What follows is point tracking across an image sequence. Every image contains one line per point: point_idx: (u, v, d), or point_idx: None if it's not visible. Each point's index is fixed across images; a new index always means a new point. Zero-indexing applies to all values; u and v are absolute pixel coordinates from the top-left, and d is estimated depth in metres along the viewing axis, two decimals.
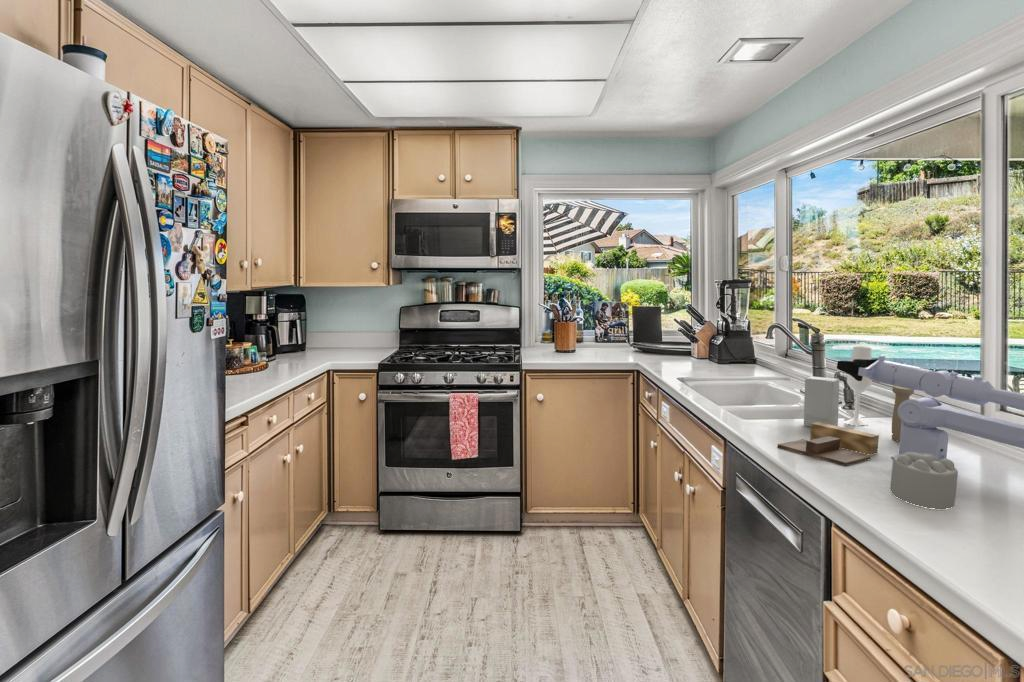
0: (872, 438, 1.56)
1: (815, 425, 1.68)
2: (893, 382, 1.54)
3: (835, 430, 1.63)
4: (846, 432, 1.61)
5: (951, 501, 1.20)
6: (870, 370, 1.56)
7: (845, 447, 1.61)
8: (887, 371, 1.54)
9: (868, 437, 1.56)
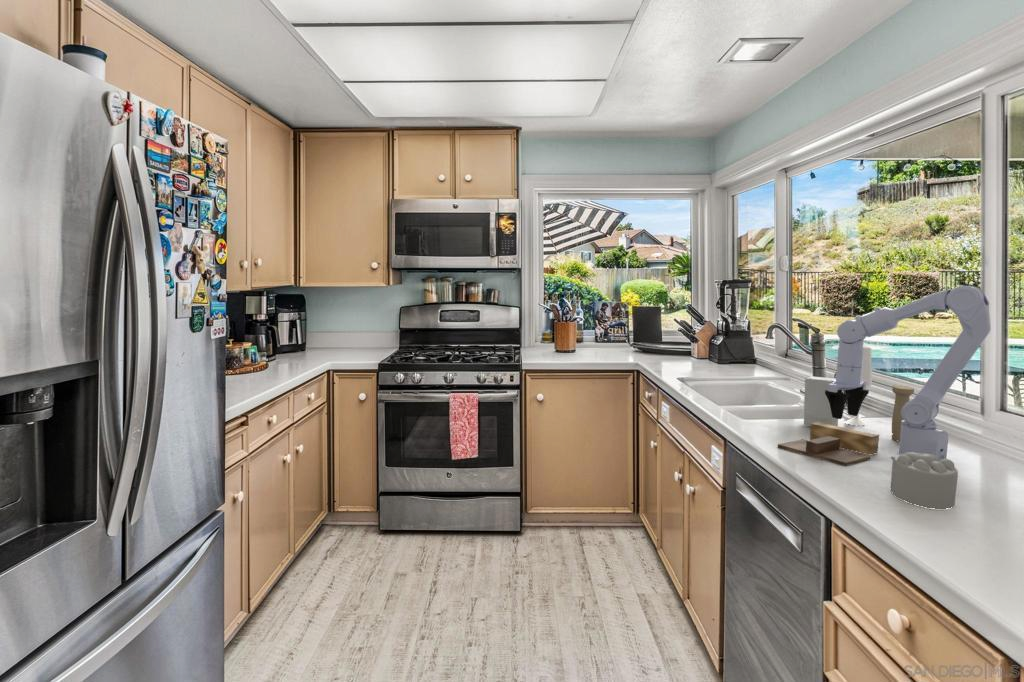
0: (872, 438, 1.56)
1: (815, 425, 1.68)
2: (851, 367, 1.58)
3: (835, 430, 1.63)
4: (846, 432, 1.61)
5: (951, 501, 1.20)
6: (835, 384, 1.59)
7: (845, 447, 1.61)
8: (840, 371, 1.60)
9: (868, 437, 1.56)
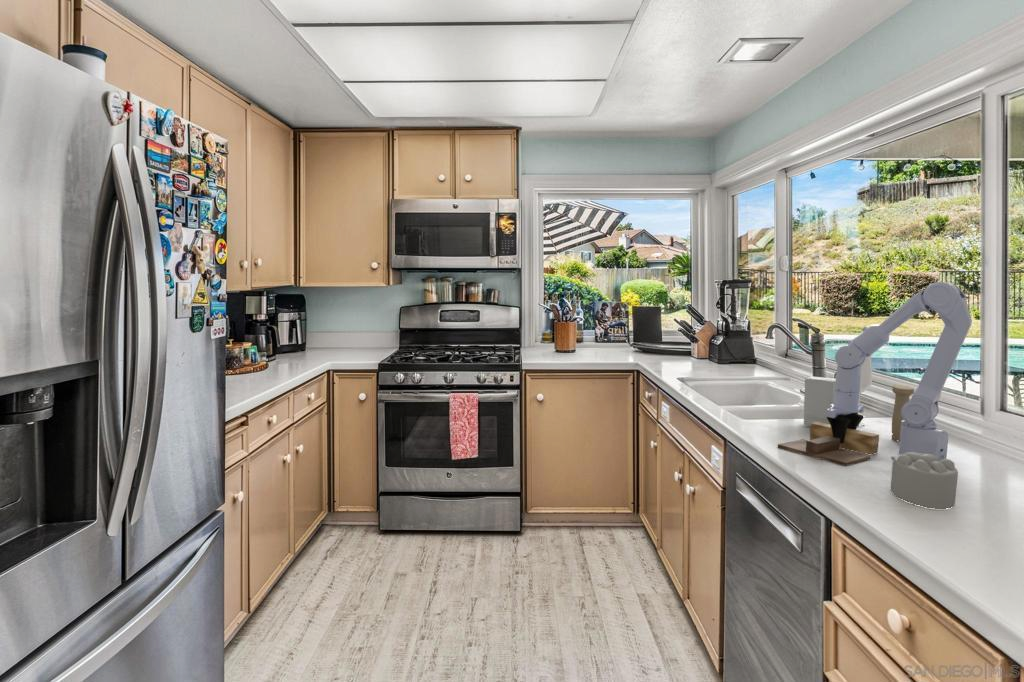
0: (873, 437, 1.56)
1: (815, 425, 1.67)
2: (849, 392, 1.59)
3: None
4: (846, 432, 1.61)
5: (951, 501, 1.20)
6: None
7: (845, 447, 1.61)
8: (838, 396, 1.61)
9: (869, 436, 1.56)
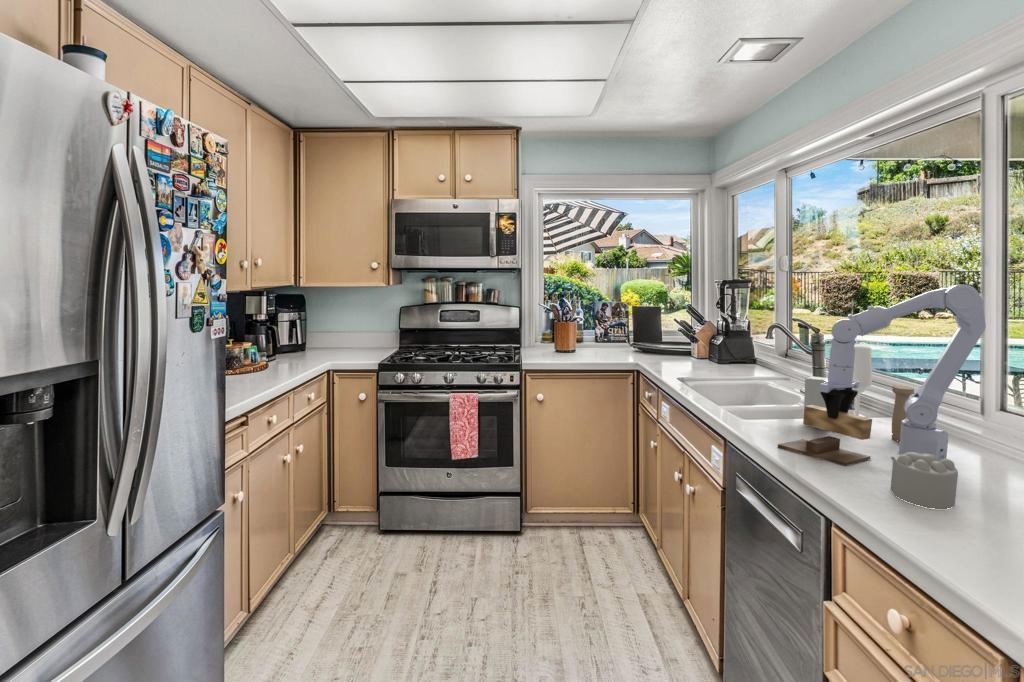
0: (865, 421, 1.52)
1: (808, 408, 1.65)
2: (843, 367, 1.56)
3: None
4: (839, 415, 1.58)
5: (951, 501, 1.20)
6: (827, 384, 1.57)
7: (838, 430, 1.58)
8: (831, 371, 1.58)
9: (861, 420, 1.53)
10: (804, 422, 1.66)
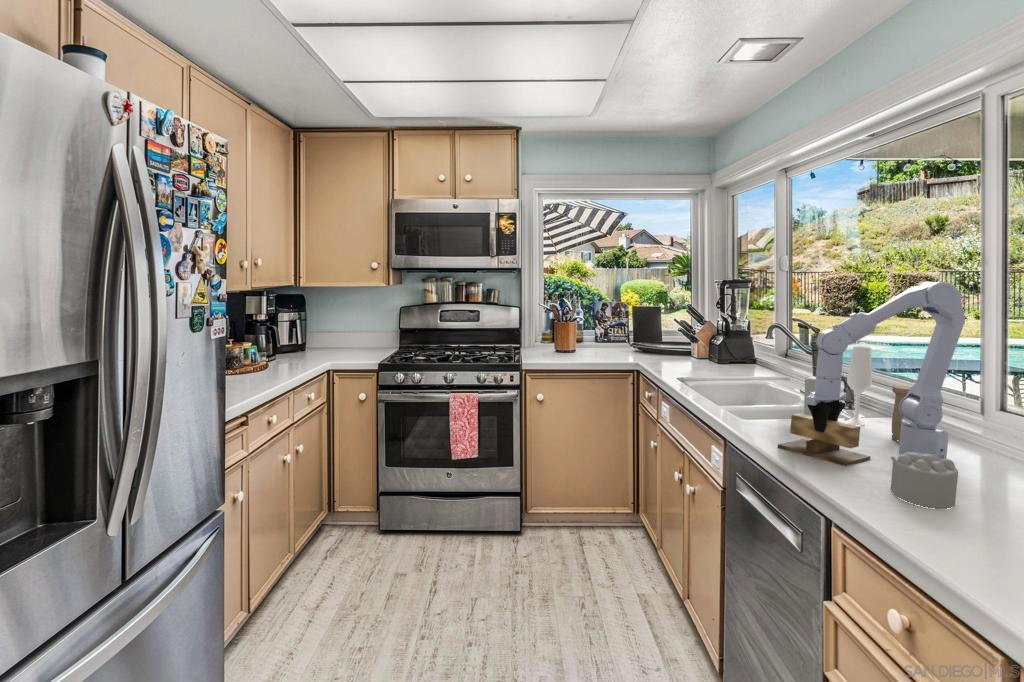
0: (853, 429, 1.49)
1: (795, 416, 1.61)
2: (830, 379, 1.52)
3: None
4: (826, 423, 1.54)
5: (952, 501, 1.20)
6: (814, 396, 1.53)
7: (825, 439, 1.54)
8: (818, 383, 1.54)
9: (849, 428, 1.49)
10: (791, 431, 1.62)
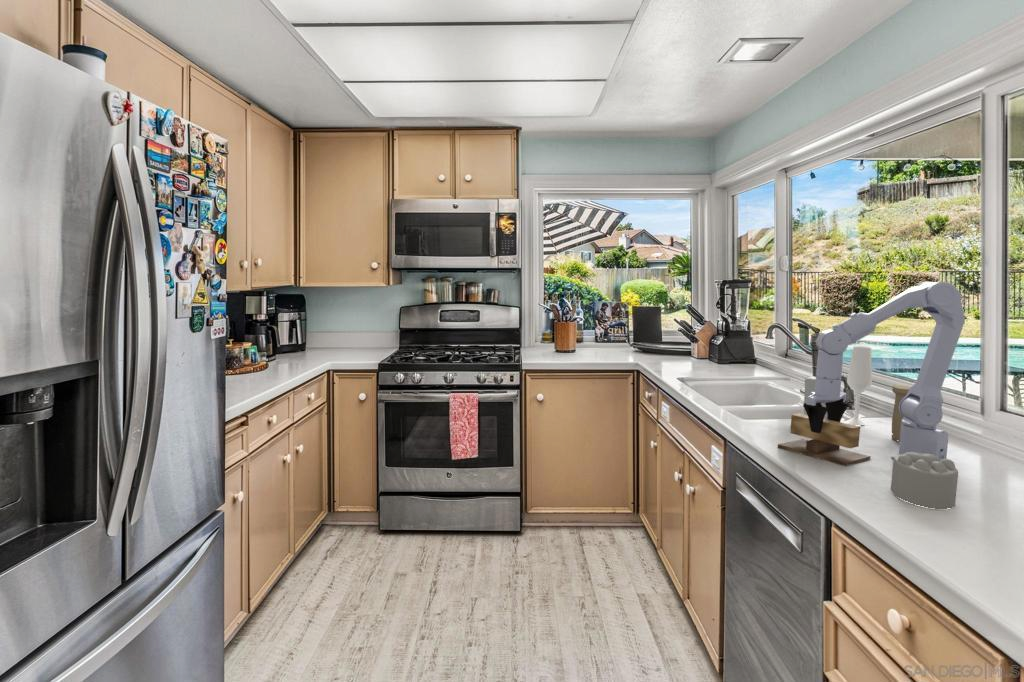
0: (853, 429, 1.49)
1: (795, 416, 1.61)
2: (830, 379, 1.52)
3: None
4: (826, 423, 1.54)
5: (952, 501, 1.20)
6: (814, 397, 1.53)
7: (825, 439, 1.54)
8: (818, 383, 1.54)
9: (849, 428, 1.49)
10: (791, 431, 1.62)
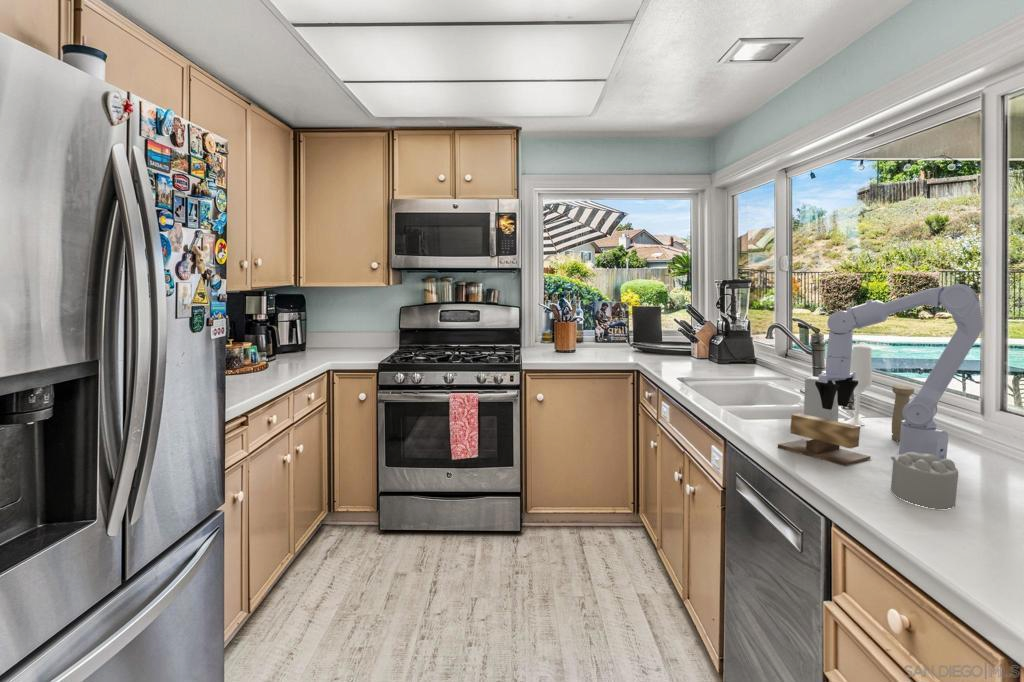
0: (853, 429, 1.49)
1: (795, 416, 1.61)
2: (841, 358, 1.59)
3: (815, 421, 1.56)
4: (826, 423, 1.54)
5: (952, 501, 1.20)
6: (825, 375, 1.60)
7: (825, 439, 1.54)
8: (830, 362, 1.61)
9: (849, 428, 1.49)
10: (791, 431, 1.62)
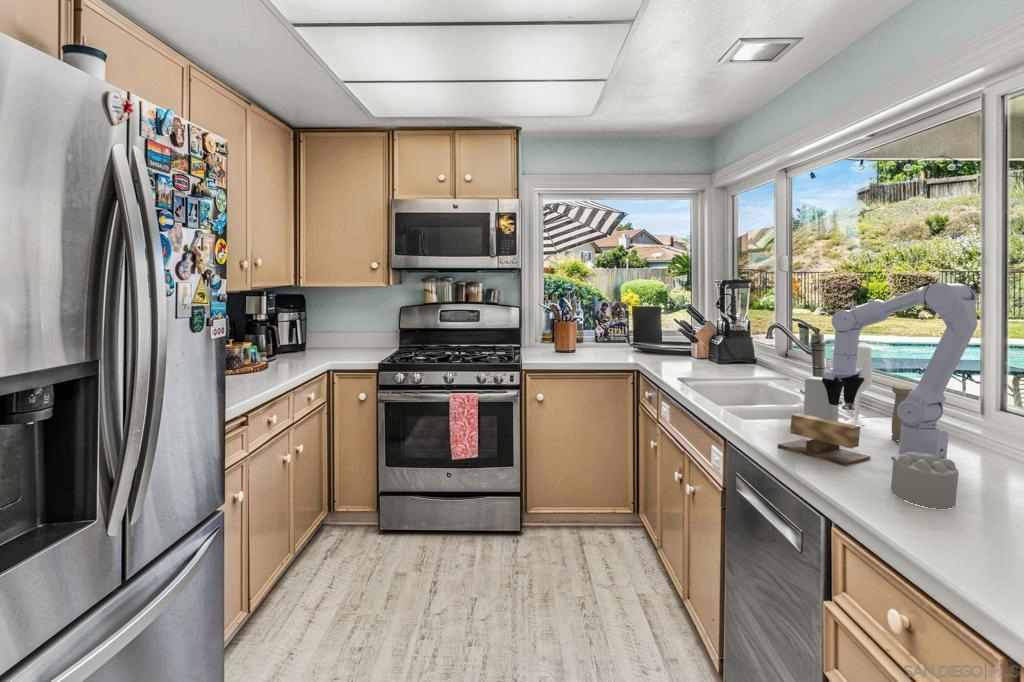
0: (853, 429, 1.49)
1: (795, 416, 1.61)
2: (847, 355, 1.64)
3: (815, 421, 1.56)
4: (826, 423, 1.54)
5: (952, 501, 1.20)
6: (832, 372, 1.65)
7: (825, 439, 1.54)
8: (836, 359, 1.66)
9: (849, 428, 1.49)
10: (791, 431, 1.62)
